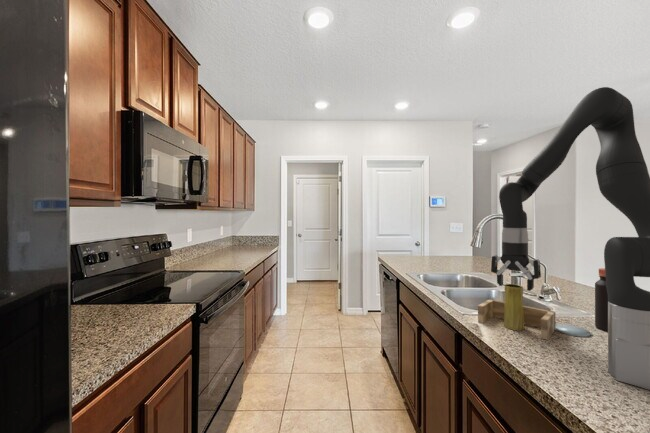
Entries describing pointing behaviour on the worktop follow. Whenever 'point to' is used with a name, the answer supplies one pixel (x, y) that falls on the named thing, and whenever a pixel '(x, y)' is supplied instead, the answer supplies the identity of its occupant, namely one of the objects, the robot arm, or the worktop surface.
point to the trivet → (572, 330)
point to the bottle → (601, 302)
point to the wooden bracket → (531, 316)
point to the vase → (513, 307)
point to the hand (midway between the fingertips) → (514, 287)
